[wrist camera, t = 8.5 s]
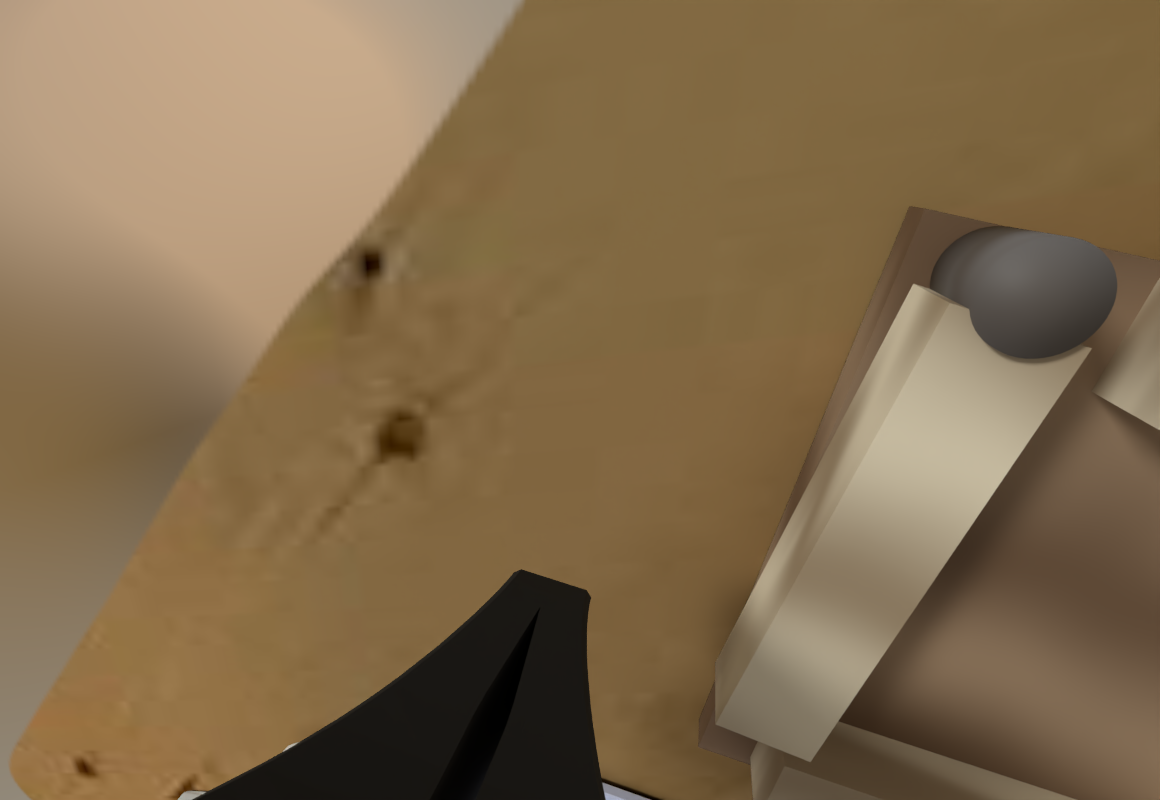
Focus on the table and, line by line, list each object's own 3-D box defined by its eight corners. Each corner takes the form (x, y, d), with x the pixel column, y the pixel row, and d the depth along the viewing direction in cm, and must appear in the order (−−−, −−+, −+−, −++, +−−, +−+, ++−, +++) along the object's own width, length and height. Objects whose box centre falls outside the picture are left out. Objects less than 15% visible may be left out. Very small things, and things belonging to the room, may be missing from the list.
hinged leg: (952, 209, 11) (1004, 216, 9) (1078, 248, 11) (1159, 263, 9) (715, 662, 16) (715, 730, 14) (799, 695, 16) (811, 769, 14)
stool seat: (1243, 902, 17) (1346, 1043, 14) (699, 719, 19) (696, 812, 16) (1809, 406, 11) (2189, 485, 8) (909, 206, 13) (965, 214, 10)
